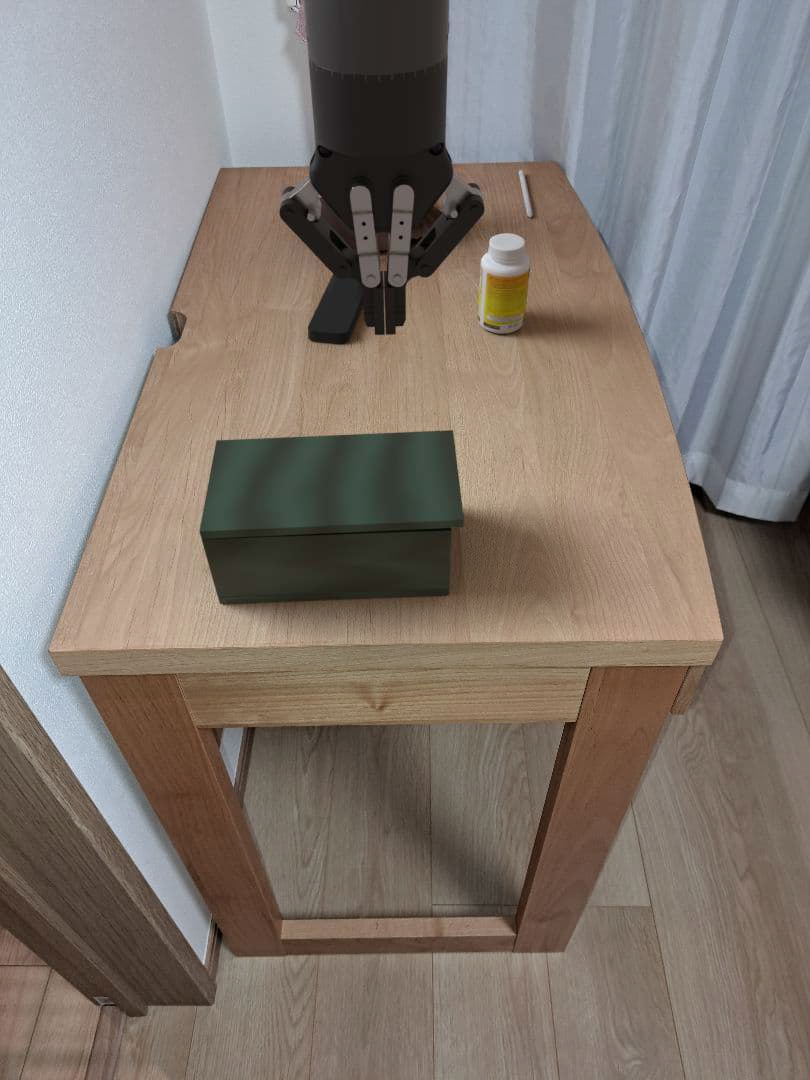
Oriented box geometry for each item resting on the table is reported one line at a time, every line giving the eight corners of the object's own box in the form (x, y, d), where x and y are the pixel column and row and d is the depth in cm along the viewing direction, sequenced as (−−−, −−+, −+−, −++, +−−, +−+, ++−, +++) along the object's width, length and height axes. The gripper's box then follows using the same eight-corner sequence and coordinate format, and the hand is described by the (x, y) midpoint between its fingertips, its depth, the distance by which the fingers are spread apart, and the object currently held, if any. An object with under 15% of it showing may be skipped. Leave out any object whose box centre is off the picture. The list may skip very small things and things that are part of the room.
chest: (440, 506, 77) (442, 440, 71) (449, 595, 69) (451, 530, 64) (233, 513, 76) (218, 448, 71) (219, 604, 69) (201, 539, 63)
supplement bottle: (532, 329, 97) (542, 247, 89) (490, 340, 95) (496, 257, 88) (510, 306, 100) (517, 225, 93) (469, 316, 99) (473, 235, 92)
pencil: (526, 216, 116) (517, 171, 126) (529, 221, 116) (520, 176, 126) (531, 213, 115) (522, 168, 126) (534, 218, 116) (525, 173, 126)
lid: (453, 437, 71) (453, 429, 70) (463, 527, 63) (464, 519, 63) (218, 447, 71) (216, 440, 70) (201, 539, 63) (199, 531, 63)
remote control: (347, 348, 95) (374, 278, 105) (346, 335, 94) (373, 266, 104) (306, 344, 96) (336, 275, 106) (305, 331, 95) (335, 263, 104)
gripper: (246, 71, 41) (285, 362, 54) (509, 66, 41) (487, 357, 54) (259, 26, 46) (292, 302, 59) (493, 22, 47) (476, 297, 59)
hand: (385, 328), depth 57 cm, fingers closed
